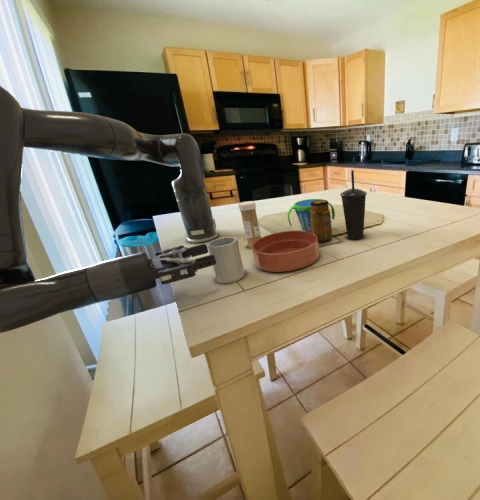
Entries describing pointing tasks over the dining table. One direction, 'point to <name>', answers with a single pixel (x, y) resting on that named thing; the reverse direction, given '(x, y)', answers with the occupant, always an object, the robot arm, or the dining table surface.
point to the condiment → (321, 222)
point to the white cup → (226, 259)
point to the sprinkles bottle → (250, 221)
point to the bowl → (285, 250)
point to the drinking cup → (354, 211)
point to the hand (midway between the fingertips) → (210, 253)
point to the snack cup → (305, 213)
